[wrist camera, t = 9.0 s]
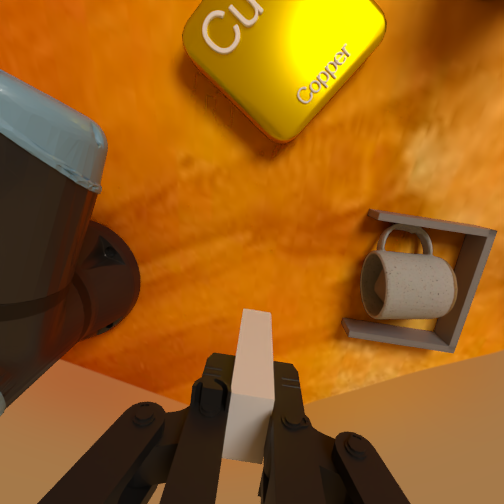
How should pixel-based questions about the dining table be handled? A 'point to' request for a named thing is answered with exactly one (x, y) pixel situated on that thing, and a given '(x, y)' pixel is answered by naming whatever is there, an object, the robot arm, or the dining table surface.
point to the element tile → (282, 54)
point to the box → (467, 282)
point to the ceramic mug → (407, 281)
